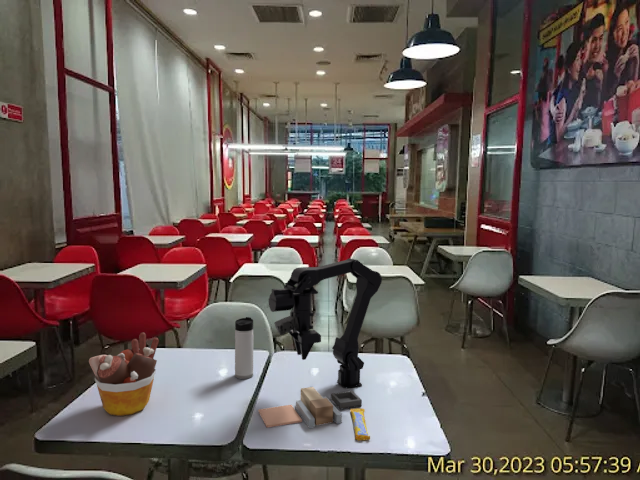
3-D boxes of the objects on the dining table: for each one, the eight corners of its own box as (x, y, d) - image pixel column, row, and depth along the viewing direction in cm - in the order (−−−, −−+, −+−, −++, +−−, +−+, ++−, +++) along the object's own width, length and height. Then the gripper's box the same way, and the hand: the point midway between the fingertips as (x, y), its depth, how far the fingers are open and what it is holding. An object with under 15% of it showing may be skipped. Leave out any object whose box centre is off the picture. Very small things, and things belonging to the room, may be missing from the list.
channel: (325, 404, 138) (326, 396, 138) (341, 422, 127) (341, 414, 126) (295, 409, 134) (295, 400, 134) (309, 428, 123) (309, 419, 123)
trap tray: (351, 396, 144) (351, 390, 143) (361, 406, 137) (361, 399, 137) (331, 399, 141) (331, 393, 141) (340, 409, 135) (340, 403, 134)
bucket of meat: (131, 426, 122) (129, 354, 121) (78, 419, 126) (76, 348, 124) (171, 395, 142) (170, 333, 140) (124, 390, 145) (123, 328, 144)
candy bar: (371, 443, 117) (371, 436, 117) (354, 443, 117) (354, 436, 117) (364, 413, 134) (364, 406, 134) (350, 413, 134) (350, 406, 133)
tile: (291, 406, 136) (291, 404, 136) (301, 421, 127) (302, 419, 127) (258, 411, 132) (258, 409, 132) (266, 427, 123) (266, 425, 123)
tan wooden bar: (312, 400, 140) (313, 386, 140) (323, 413, 132) (323, 398, 132) (300, 402, 139) (300, 388, 139) (310, 415, 131) (310, 400, 130)
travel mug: (256, 373, 161) (257, 317, 159) (247, 380, 155) (248, 322, 153) (241, 371, 163) (241, 316, 161) (231, 377, 157) (231, 320, 155)
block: (326, 414, 131) (326, 398, 131) (332, 422, 127) (333, 405, 126) (309, 417, 130) (310, 400, 129) (315, 425, 125) (316, 408, 125)
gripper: (269, 303, 148) (269, 350, 150) (285, 317, 131) (285, 370, 132) (302, 301, 152) (301, 347, 154) (322, 315, 135) (321, 366, 136)
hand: (301, 357), depth 144 cm, fingers open, 4 cm apart
